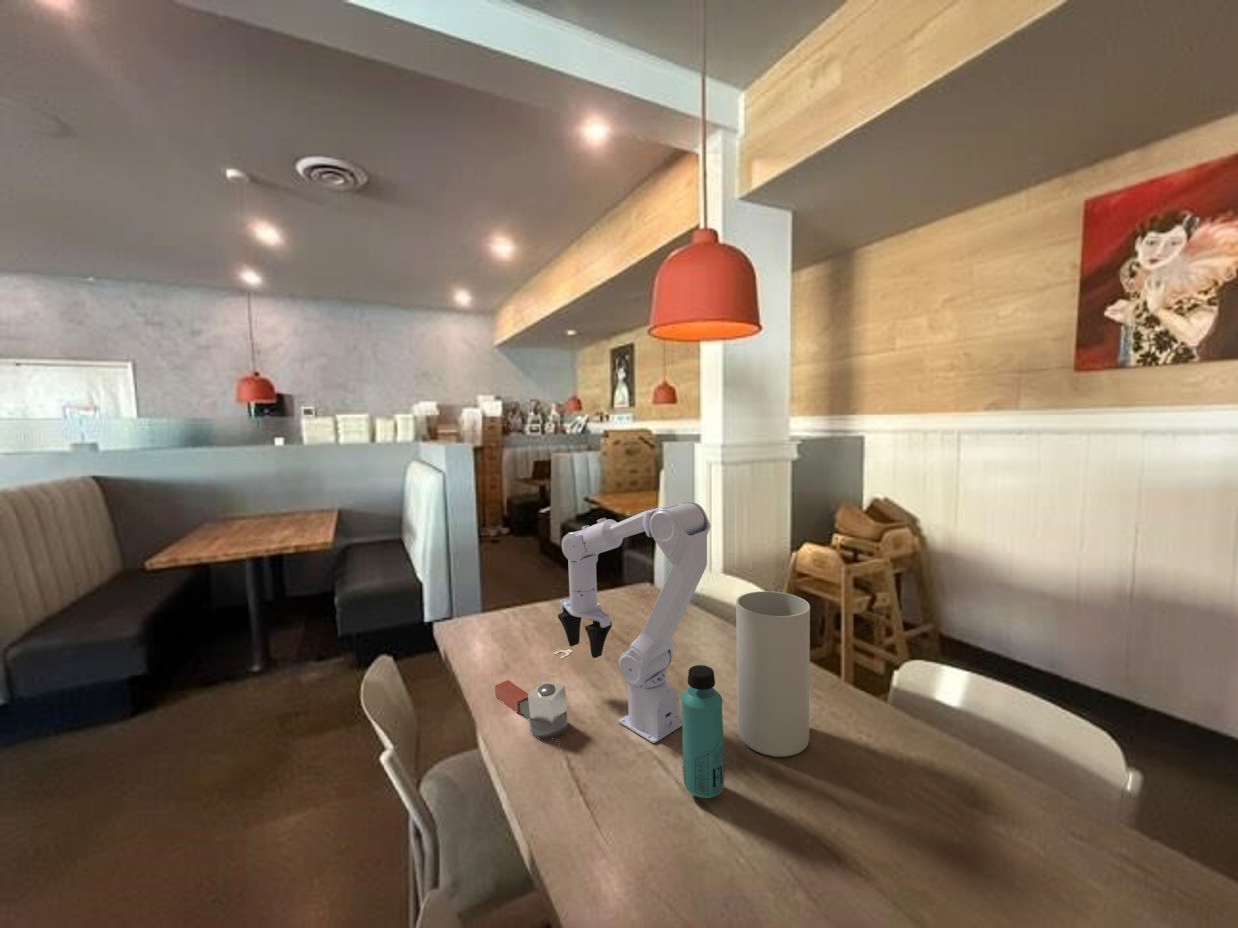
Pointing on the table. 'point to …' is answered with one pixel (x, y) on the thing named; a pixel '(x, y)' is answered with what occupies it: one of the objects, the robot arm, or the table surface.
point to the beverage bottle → (702, 734)
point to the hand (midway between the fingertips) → (585, 650)
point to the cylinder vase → (773, 672)
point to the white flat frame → (564, 652)
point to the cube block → (547, 702)
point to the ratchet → (521, 704)
